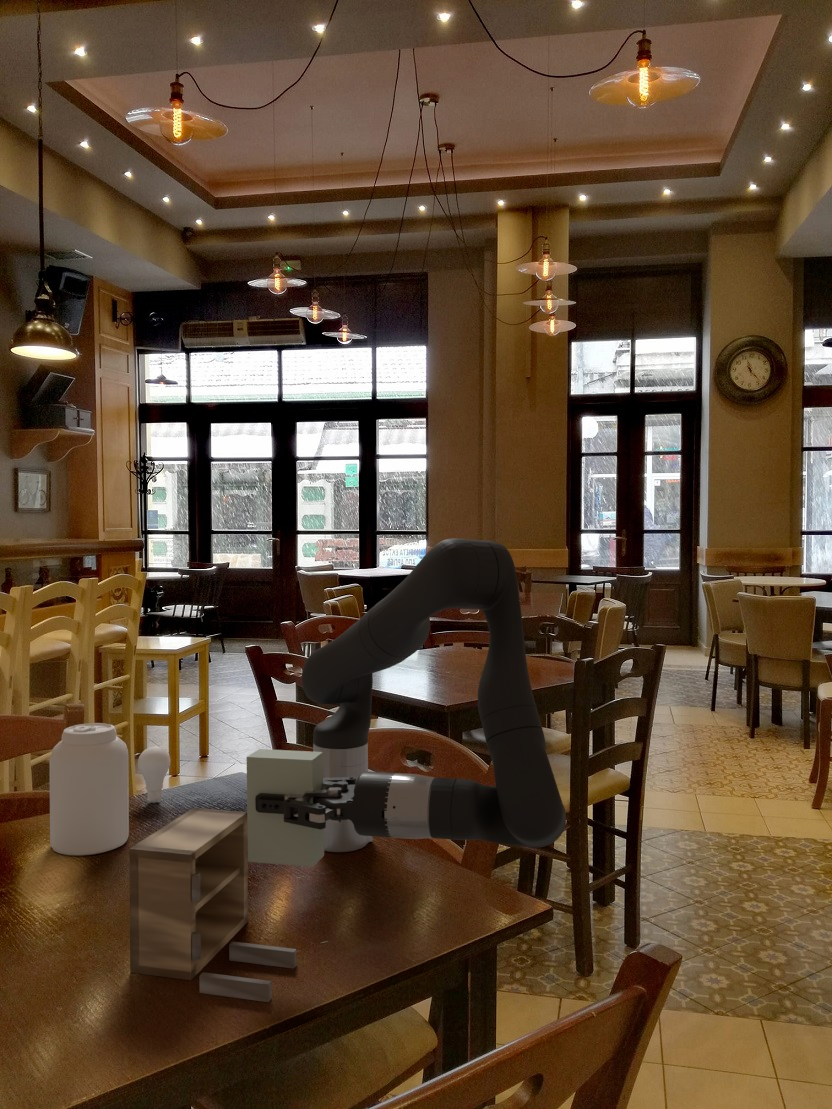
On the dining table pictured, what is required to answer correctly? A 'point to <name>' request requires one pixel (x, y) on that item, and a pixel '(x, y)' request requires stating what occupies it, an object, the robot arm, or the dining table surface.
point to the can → (89, 790)
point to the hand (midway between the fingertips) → (264, 797)
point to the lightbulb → (154, 770)
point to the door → (269, 830)
